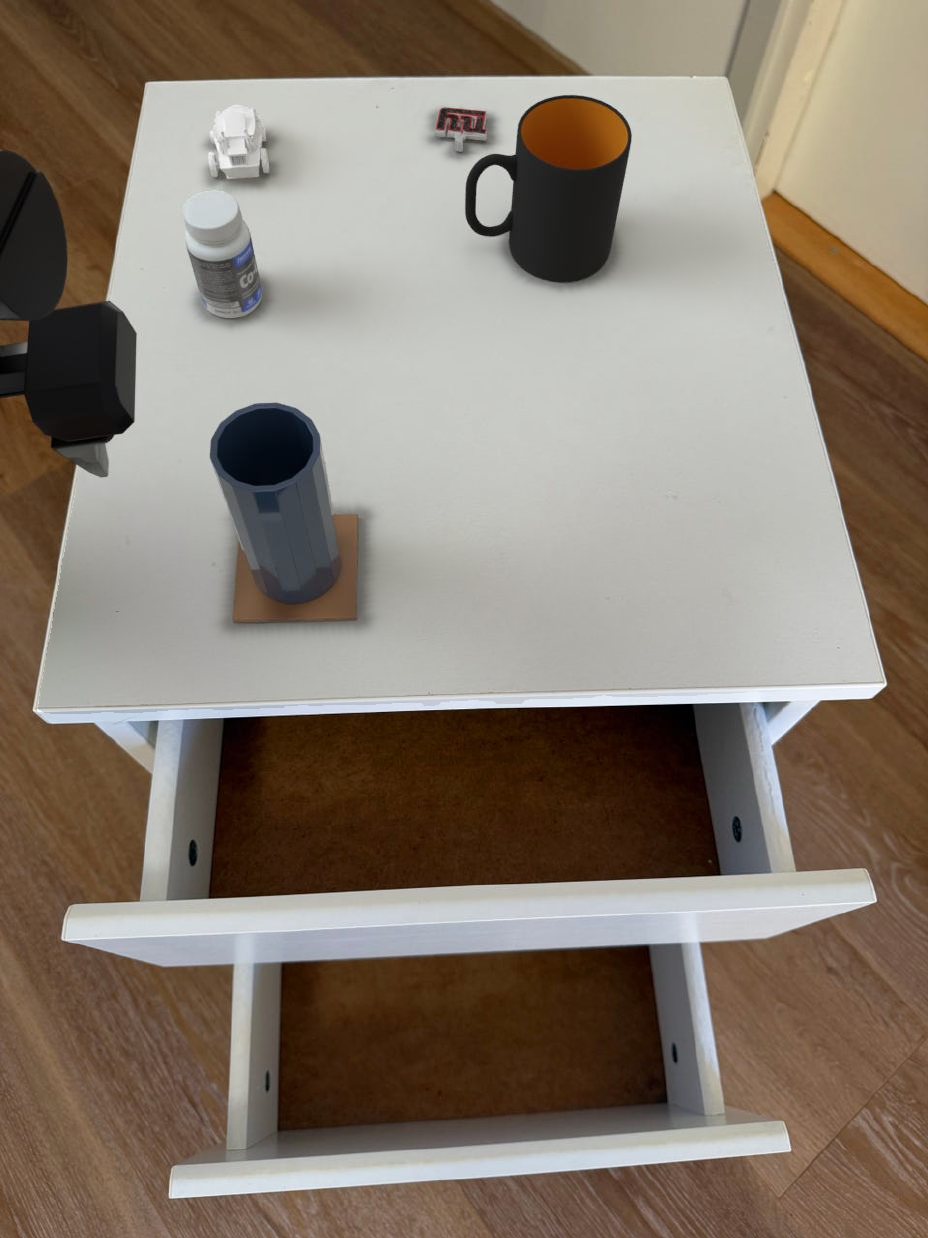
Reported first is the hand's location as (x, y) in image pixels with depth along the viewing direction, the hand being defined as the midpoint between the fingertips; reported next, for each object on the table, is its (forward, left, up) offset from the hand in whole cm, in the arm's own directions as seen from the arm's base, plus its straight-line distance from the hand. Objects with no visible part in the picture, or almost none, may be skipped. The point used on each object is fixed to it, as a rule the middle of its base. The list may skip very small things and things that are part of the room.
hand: (23, 481), depth 53 cm
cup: (+12, +6, -12) cm, 18 cm away
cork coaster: (+12, +6, -13) cm, 18 cm away
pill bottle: (-2, +27, -13) cm, 30 cm away
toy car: (-8, +42, -13) cm, 44 cm away
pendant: (+9, +51, -13) cm, 53 cm away
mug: (+19, +40, -13) cm, 46 cm away
